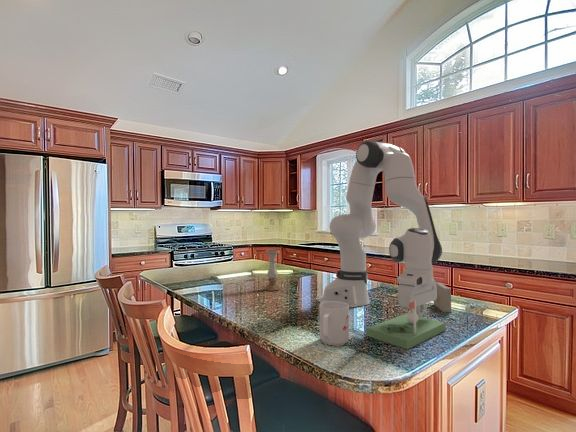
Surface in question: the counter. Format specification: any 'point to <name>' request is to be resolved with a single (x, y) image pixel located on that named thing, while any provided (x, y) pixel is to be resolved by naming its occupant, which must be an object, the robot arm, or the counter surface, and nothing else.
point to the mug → (334, 322)
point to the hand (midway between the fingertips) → (418, 317)
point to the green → (406, 330)
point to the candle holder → (272, 272)
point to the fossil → (443, 298)
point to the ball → (411, 317)
